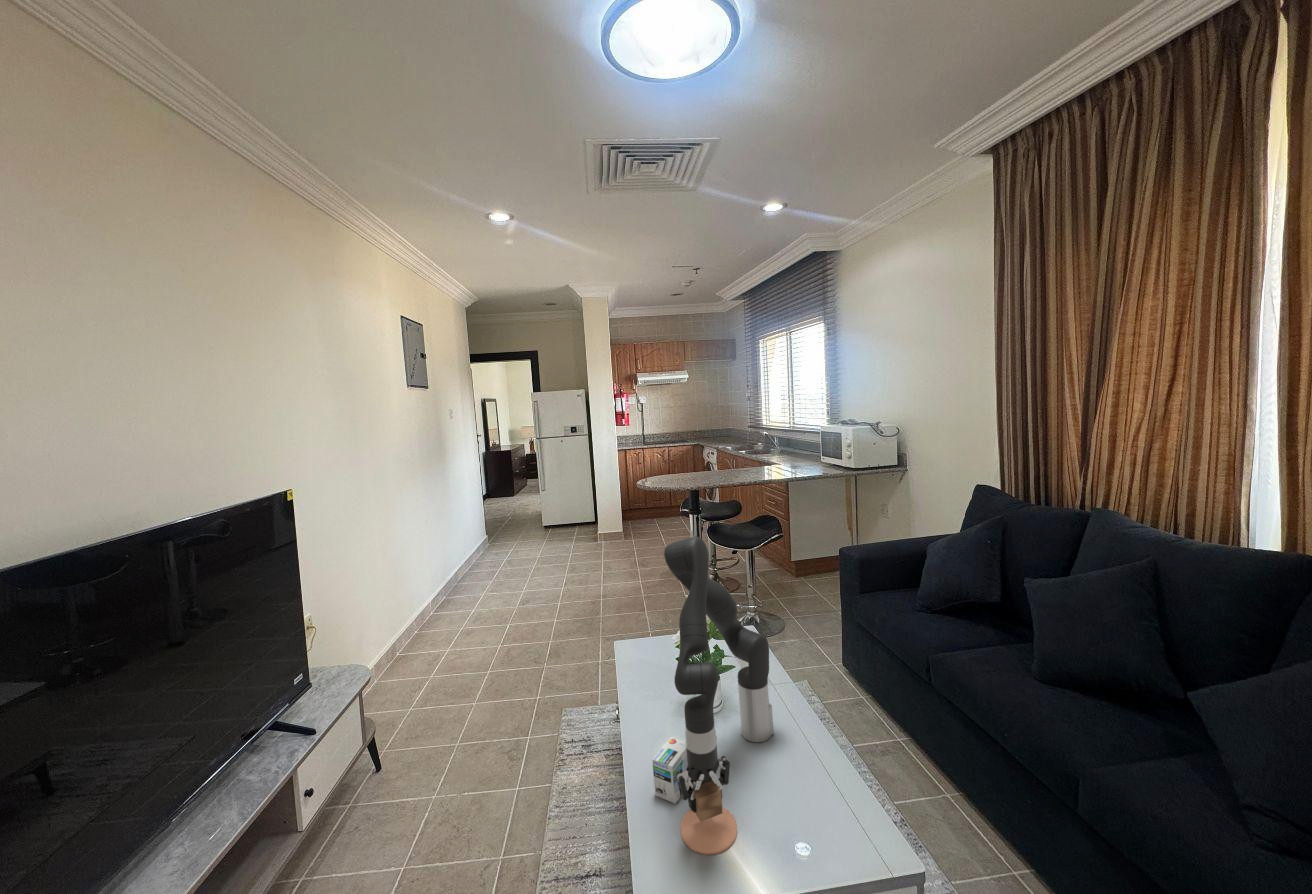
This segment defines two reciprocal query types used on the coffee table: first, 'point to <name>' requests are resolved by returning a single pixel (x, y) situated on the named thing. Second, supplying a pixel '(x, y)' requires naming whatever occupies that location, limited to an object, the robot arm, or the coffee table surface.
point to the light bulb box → (669, 769)
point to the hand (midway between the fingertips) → (705, 805)
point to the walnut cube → (708, 801)
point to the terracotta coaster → (709, 832)
